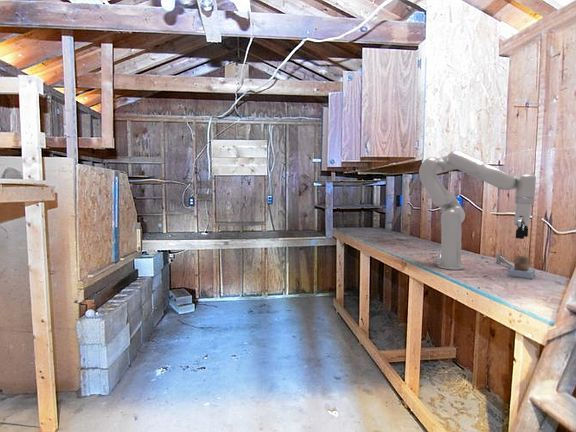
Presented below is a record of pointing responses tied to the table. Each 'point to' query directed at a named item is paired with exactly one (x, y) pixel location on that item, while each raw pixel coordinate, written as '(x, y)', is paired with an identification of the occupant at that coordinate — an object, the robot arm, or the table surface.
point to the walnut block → (521, 263)
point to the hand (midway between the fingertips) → (521, 237)
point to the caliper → (503, 260)
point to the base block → (521, 273)
